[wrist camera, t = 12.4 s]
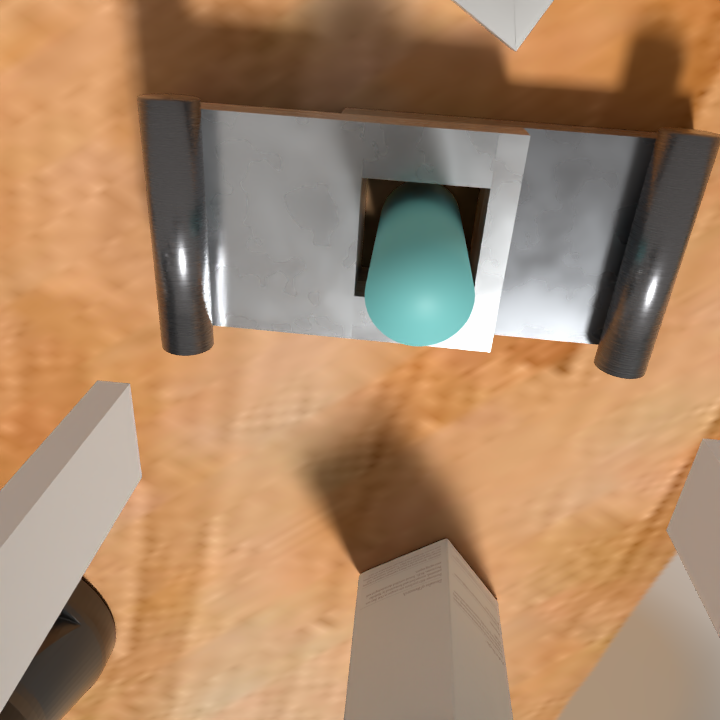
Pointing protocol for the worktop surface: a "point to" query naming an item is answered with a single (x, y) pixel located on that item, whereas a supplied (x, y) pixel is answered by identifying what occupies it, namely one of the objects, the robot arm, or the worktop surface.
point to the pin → (420, 267)
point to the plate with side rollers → (423, 165)
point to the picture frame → (506, 17)
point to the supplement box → (426, 642)
